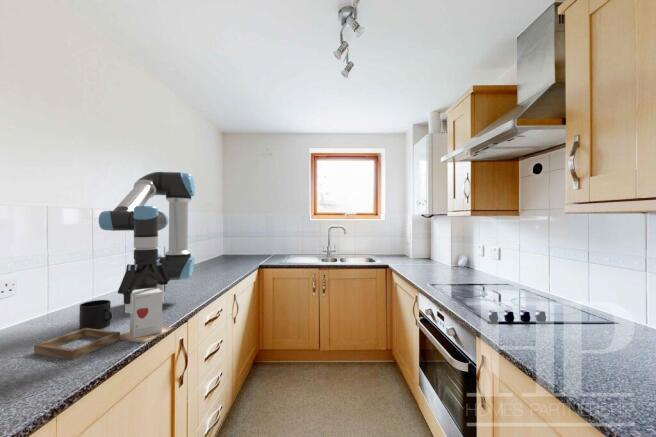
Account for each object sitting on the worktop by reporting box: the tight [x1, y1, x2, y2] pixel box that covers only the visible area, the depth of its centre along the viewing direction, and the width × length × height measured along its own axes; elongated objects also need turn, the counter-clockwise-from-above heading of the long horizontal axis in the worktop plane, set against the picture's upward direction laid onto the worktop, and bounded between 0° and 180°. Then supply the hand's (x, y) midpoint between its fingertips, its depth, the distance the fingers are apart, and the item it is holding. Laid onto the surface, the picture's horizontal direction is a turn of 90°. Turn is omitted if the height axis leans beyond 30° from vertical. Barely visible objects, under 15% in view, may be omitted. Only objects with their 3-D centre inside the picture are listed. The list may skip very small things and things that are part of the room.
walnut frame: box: [33, 328, 121, 361], centre depth 98 cm, size 15×15×2 cm
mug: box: [78, 299, 113, 330], centre depth 115 cm, size 9×12×9 cm
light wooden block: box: [118, 325, 175, 344], centre depth 109 cm, size 13×13×1 cm
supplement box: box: [129, 287, 163, 338], centre depth 109 cm, size 9×9×15 cm
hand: (145, 307), depth 109 cm, fingers open, 13 cm apart
